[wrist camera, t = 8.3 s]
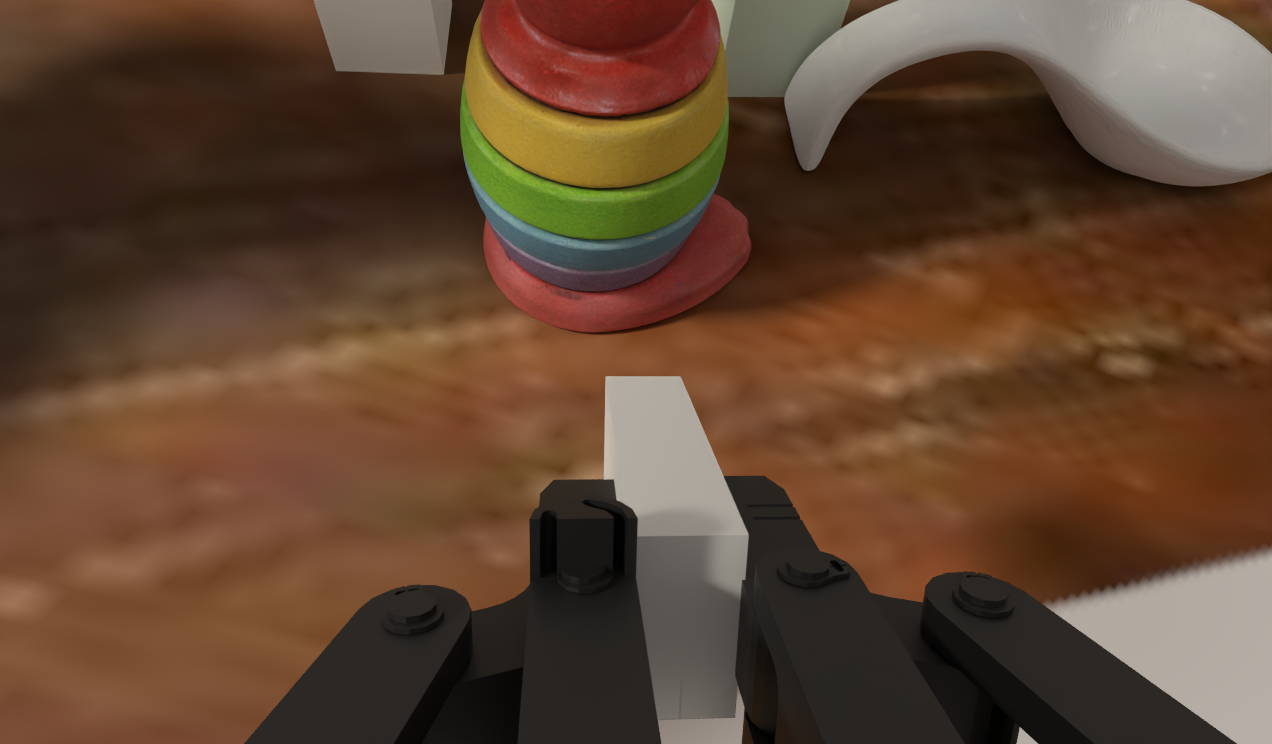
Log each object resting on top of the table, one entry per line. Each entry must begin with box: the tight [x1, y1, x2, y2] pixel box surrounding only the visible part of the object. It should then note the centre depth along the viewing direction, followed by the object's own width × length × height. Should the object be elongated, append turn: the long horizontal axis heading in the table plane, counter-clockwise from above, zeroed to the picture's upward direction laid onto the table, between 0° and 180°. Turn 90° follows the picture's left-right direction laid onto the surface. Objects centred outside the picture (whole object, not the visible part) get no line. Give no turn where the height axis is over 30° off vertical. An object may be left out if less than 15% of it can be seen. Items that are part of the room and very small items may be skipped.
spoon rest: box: [784, 0, 1272, 186], centre depth 37 cm, size 24×12×7 cm, turn 97°
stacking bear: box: [460, 0, 751, 332], centre depth 27 cm, size 11×10×18 cm
